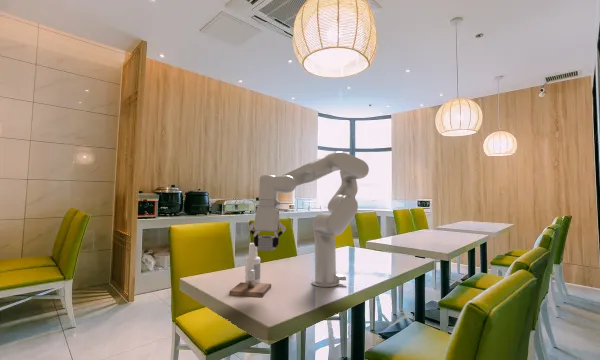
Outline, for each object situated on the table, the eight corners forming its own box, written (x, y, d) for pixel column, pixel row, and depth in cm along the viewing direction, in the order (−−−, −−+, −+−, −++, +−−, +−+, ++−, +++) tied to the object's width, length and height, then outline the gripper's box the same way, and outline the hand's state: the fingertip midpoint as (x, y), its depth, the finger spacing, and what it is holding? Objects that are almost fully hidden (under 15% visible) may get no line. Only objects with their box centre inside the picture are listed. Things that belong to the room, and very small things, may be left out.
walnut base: (271, 287, 122) (271, 283, 122) (263, 296, 110) (263, 292, 110) (240, 285, 124) (240, 282, 124) (229, 294, 112) (229, 290, 112)
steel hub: (276, 248, 120) (277, 236, 120) (272, 250, 113) (273, 238, 113) (260, 247, 121) (260, 235, 121) (255, 250, 114) (255, 237, 114)
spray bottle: (261, 284, 126) (261, 243, 127) (246, 285, 124) (246, 244, 125) (259, 280, 132) (259, 241, 134) (244, 281, 130) (244, 242, 132)
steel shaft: (255, 286, 118) (255, 269, 119) (253, 288, 115) (253, 271, 116) (248, 285, 119) (249, 269, 119) (246, 288, 116) (246, 270, 116)
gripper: (289, 204, 121) (288, 246, 119) (250, 203, 123) (248, 244, 122) (286, 204, 113) (284, 249, 112) (244, 203, 116) (243, 247, 114)
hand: (266, 246), depth 117 cm, fingers closed on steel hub, 7 cm apart
